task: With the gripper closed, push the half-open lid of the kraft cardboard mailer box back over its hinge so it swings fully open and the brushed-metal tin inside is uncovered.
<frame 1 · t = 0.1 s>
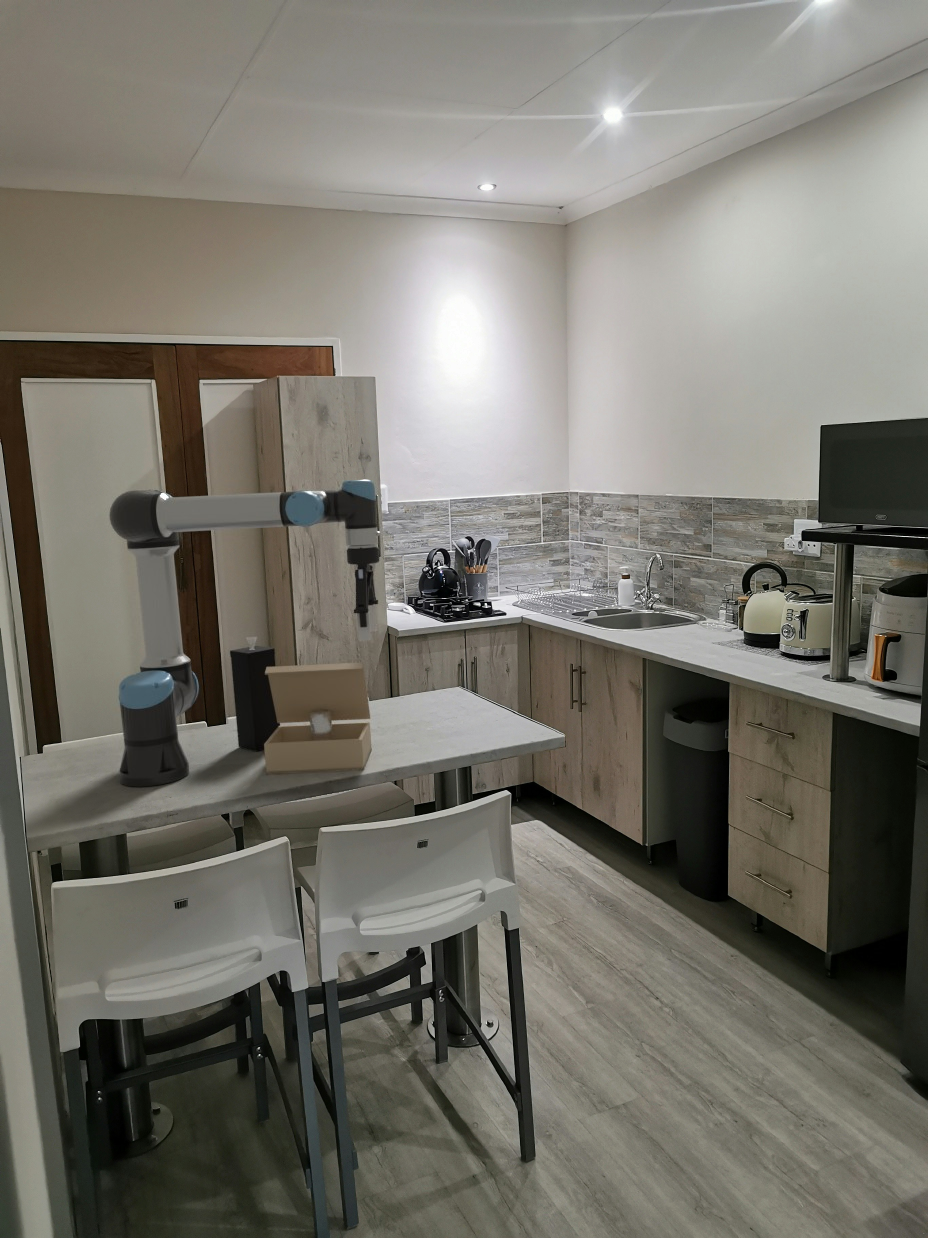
hand: (368, 636, 218), 28 cm above the table, fingers open, 13 cm apart
tin: (323, 757, 219), resting on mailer
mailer: (321, 761, 215), on the table
tissue box: (260, 747, 231), on the table
lid: (318, 695, 217), point 15 cm above the table, hinge at 66.0°
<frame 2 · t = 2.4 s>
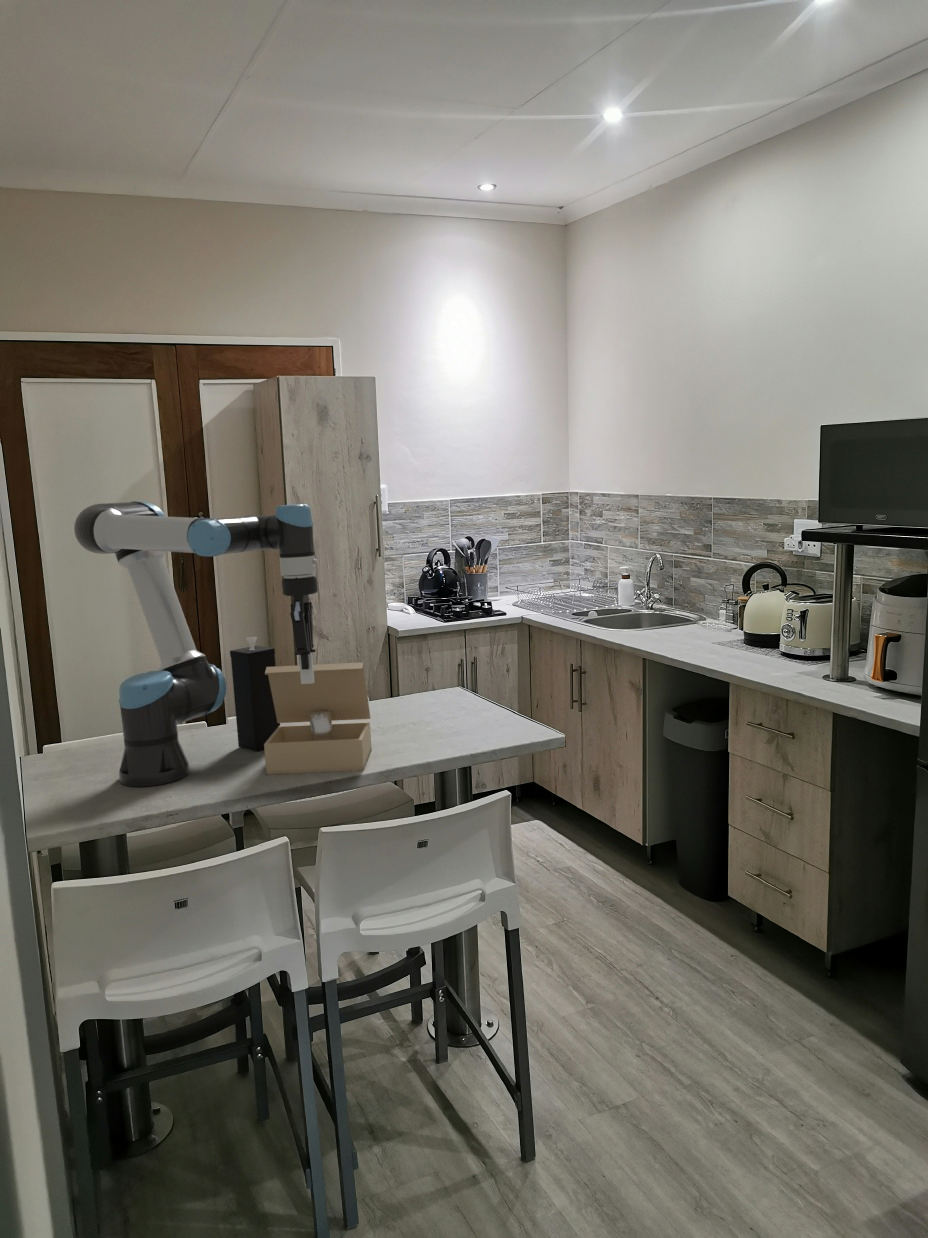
hand: (307, 682, 202), 21 cm above the table, fingers closed
nothing on the table moved.
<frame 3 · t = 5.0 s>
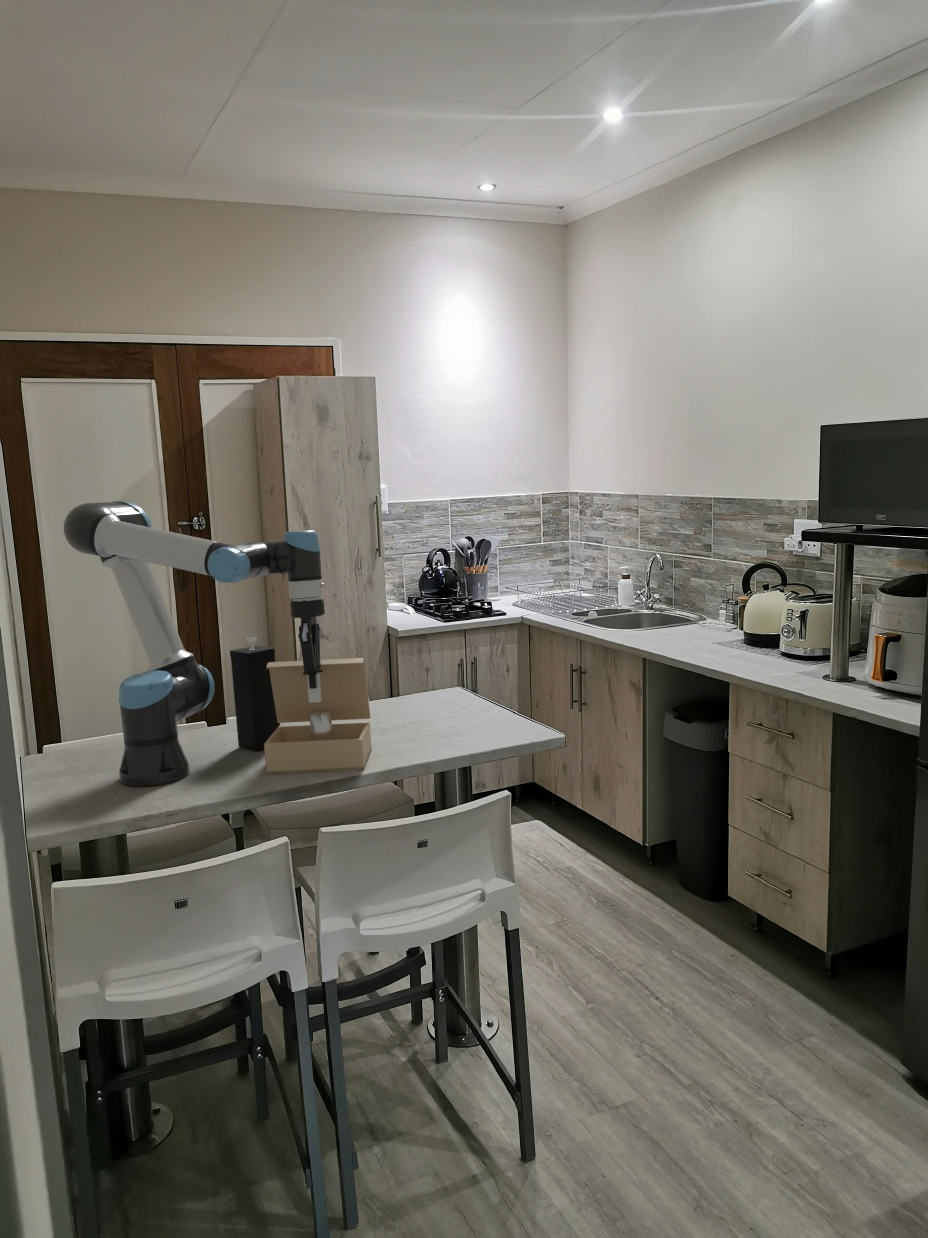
hand: (315, 701, 210), 15 cm above the table, fingers closed
lid: (319, 692, 217), point 15 cm above the table, hinge at 73.1°, touching hand
everything else where it was.
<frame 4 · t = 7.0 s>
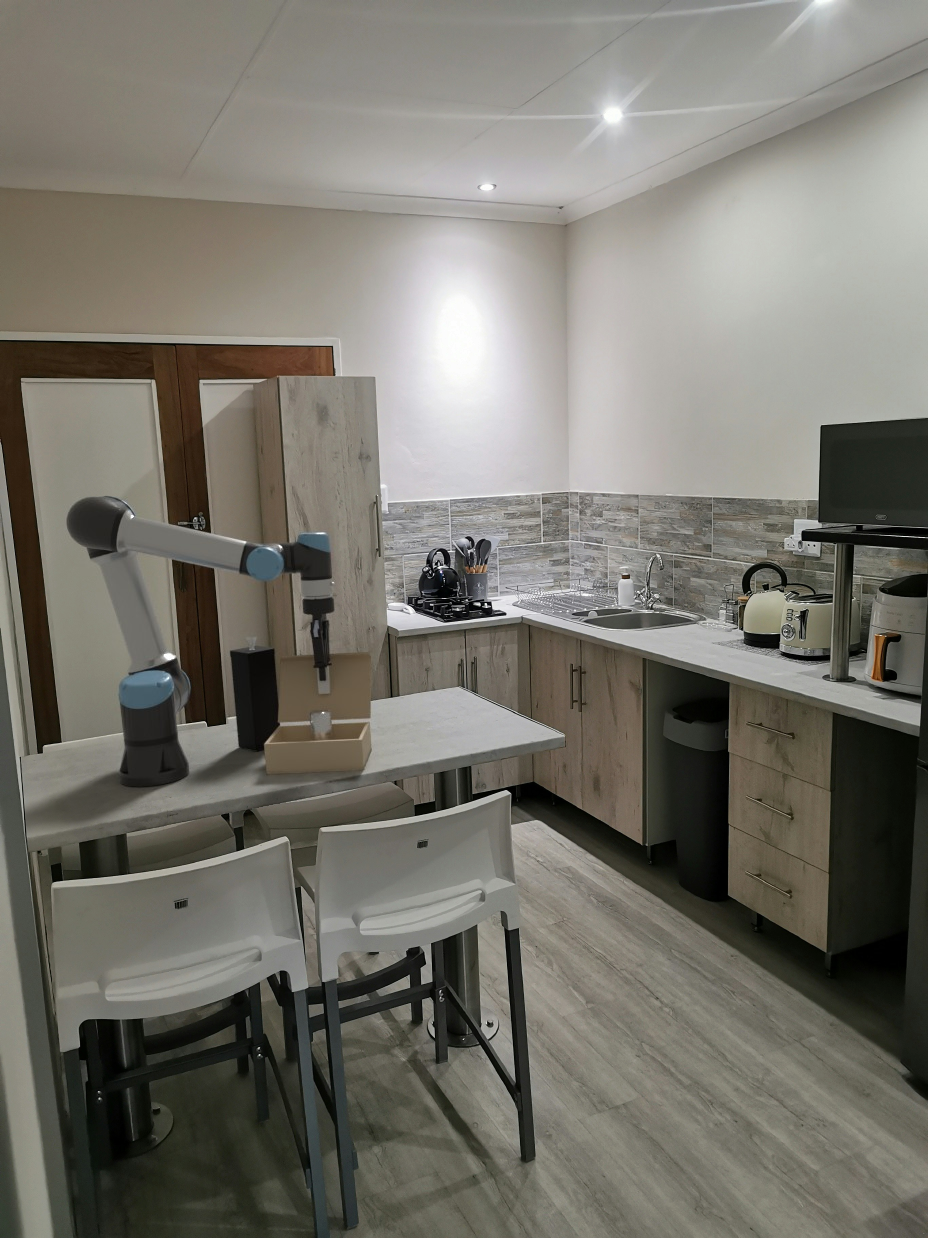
hand: (324, 693, 224), 14 cm above the table, fingers closed
lid: (324, 687, 225), point 15 cm above the table, hinge at 124.0°, touching gripper, hand
everything else where it was.
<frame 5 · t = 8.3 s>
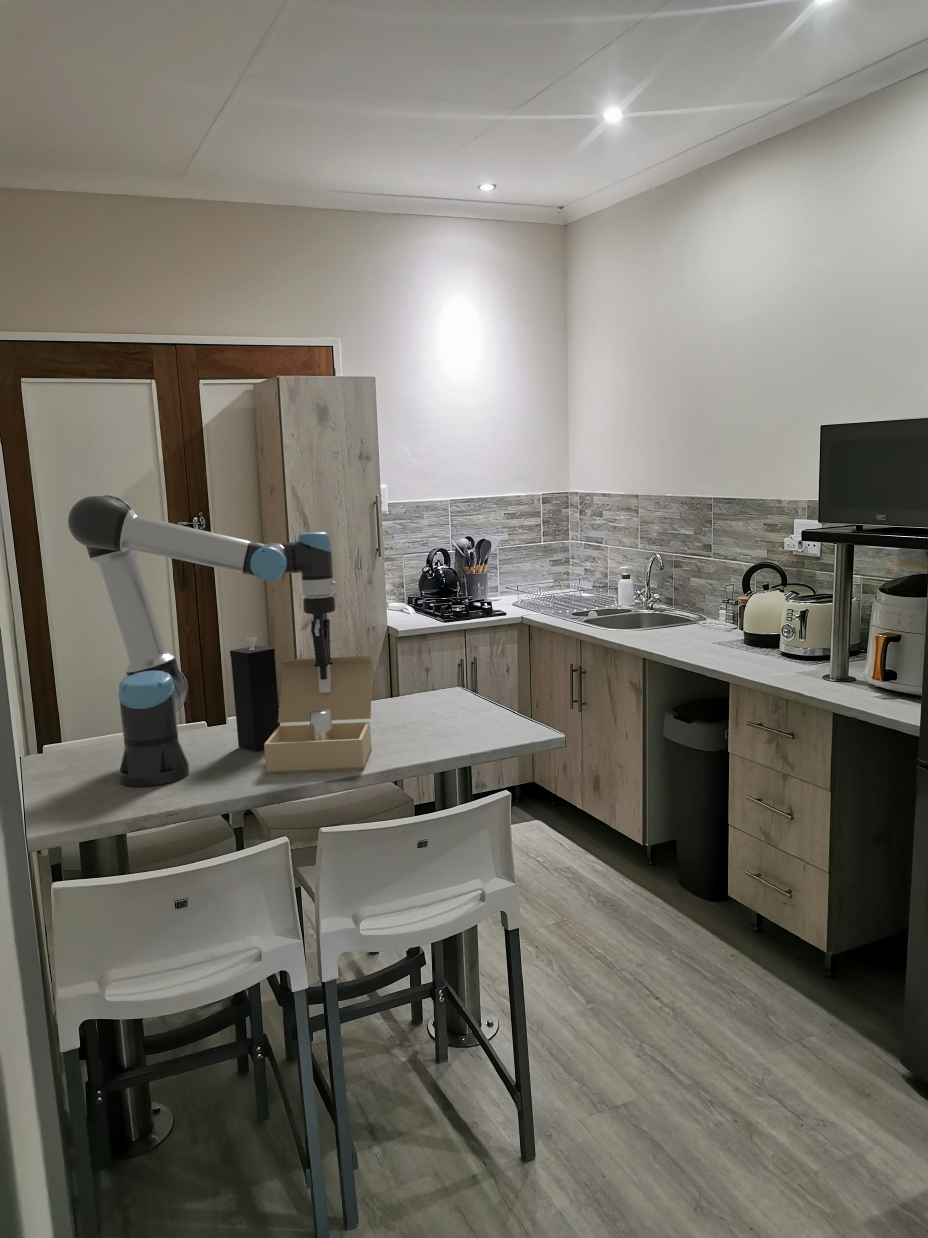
hand: (325, 691, 226), 14 cm above the table, fingers closed
lid: (325, 688, 226), point 15 cm above the table, hinge at 133.4°, touching gripper
everything else where it was.
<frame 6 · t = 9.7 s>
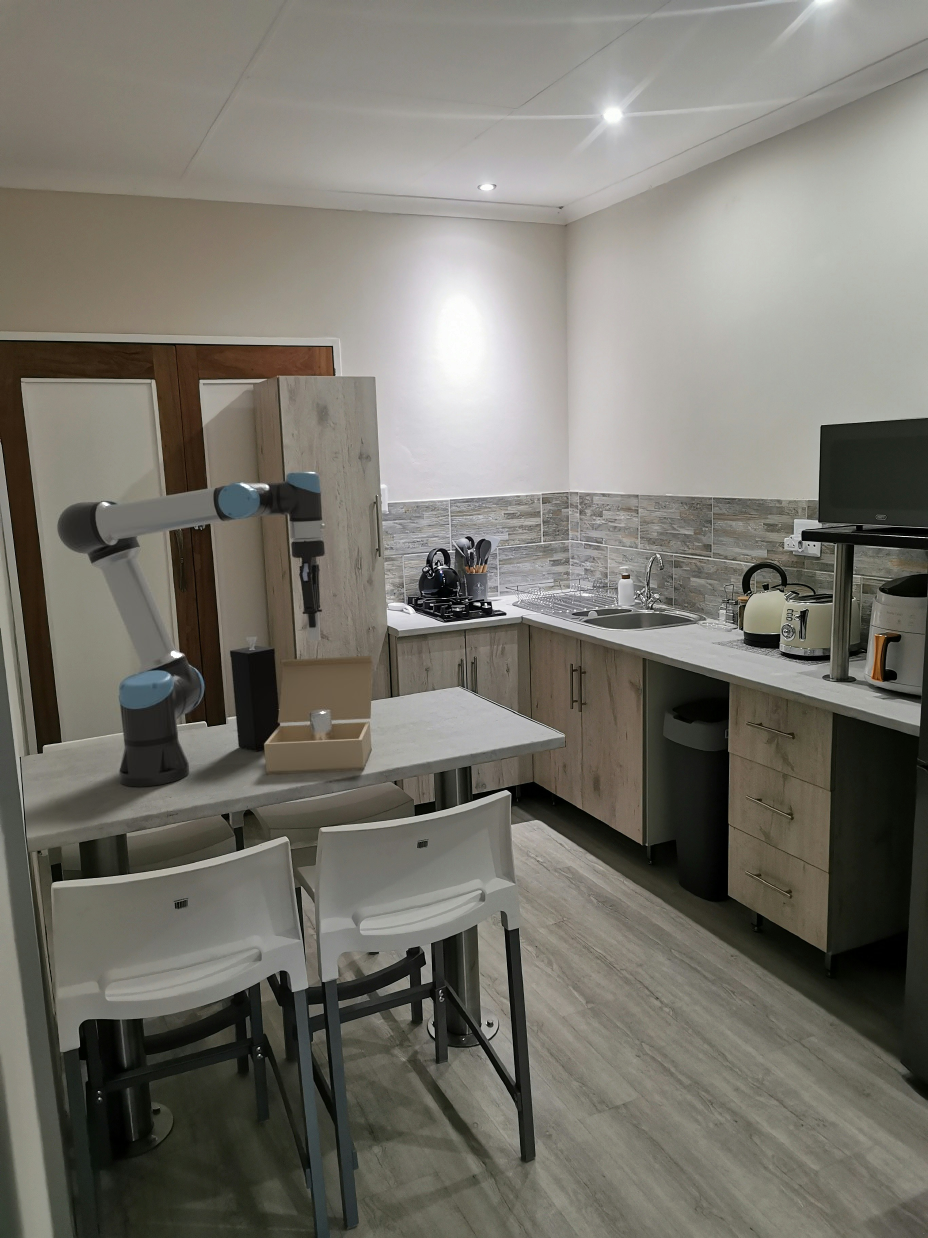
hand: (314, 640, 215), 28 cm above the table, fingers closed
lid: (325, 688, 226), point 15 cm above the table, hinge at 133.4°
everything else where it was.
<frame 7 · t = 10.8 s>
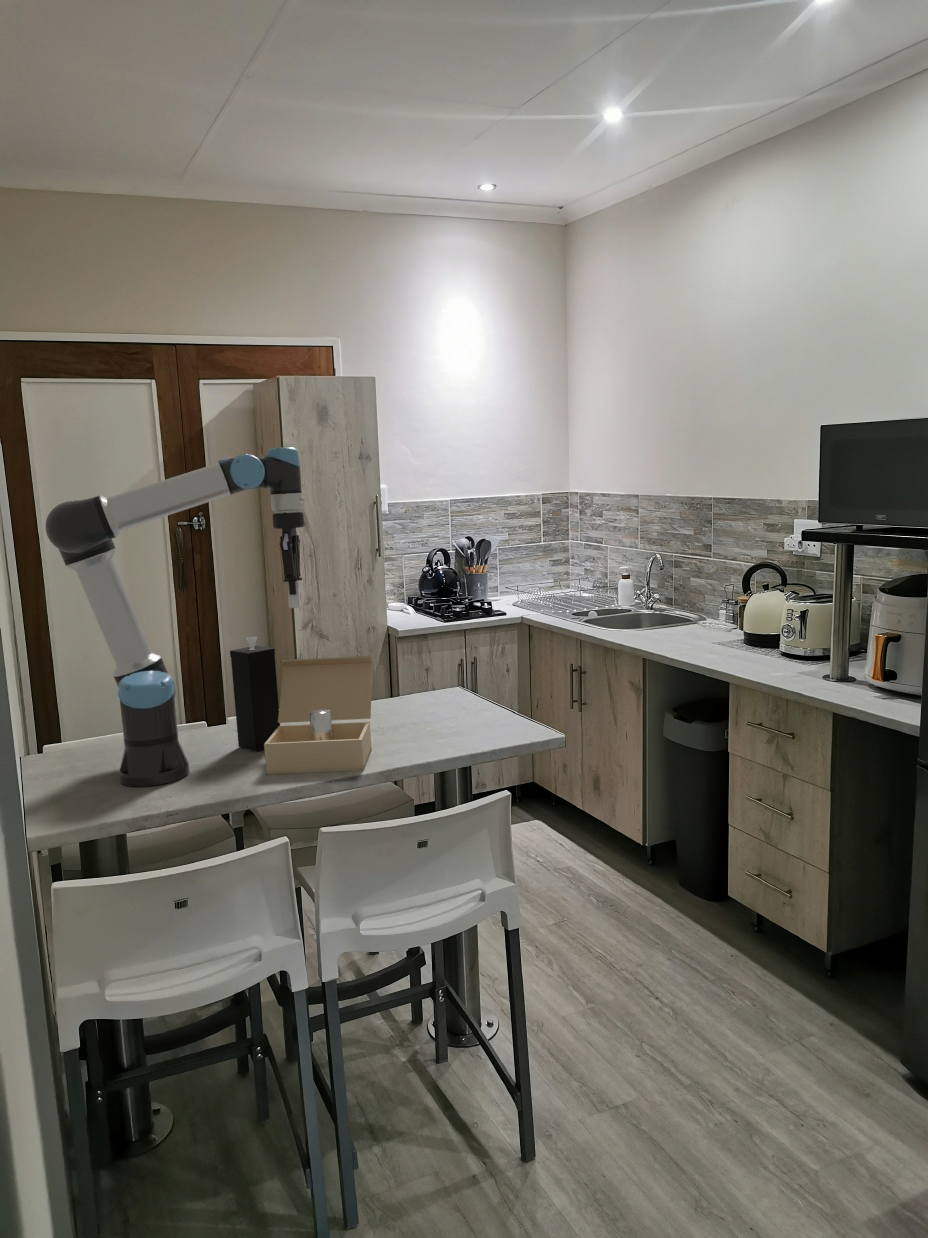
hand: (295, 607, 228), 34 cm above the table, fingers closed
nothing on the table moved.
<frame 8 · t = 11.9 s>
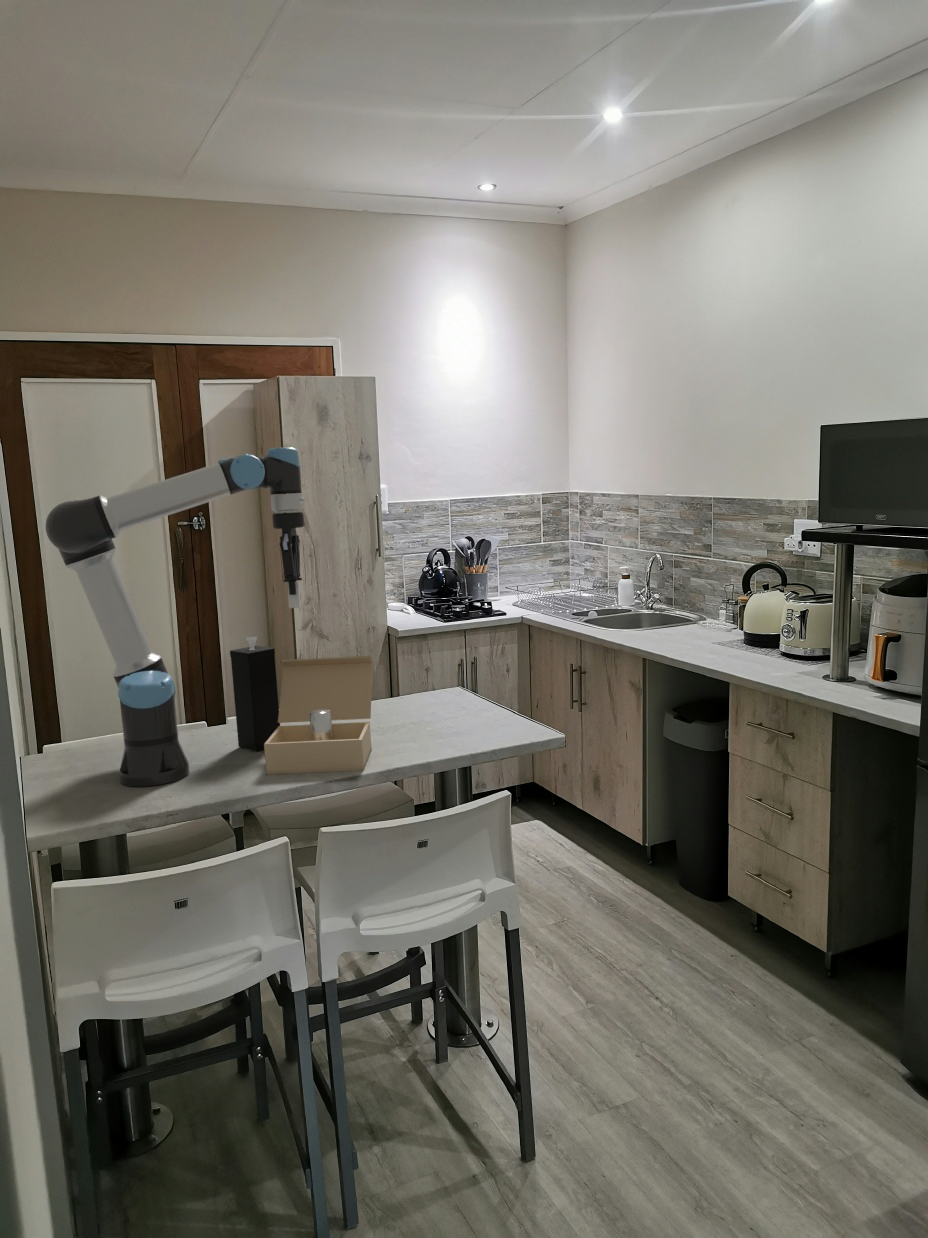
hand: (294, 607, 228), 34 cm above the table, fingers closed
nothing on the table moved.
at the end: lid at +133° (first picture: +66°) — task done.
